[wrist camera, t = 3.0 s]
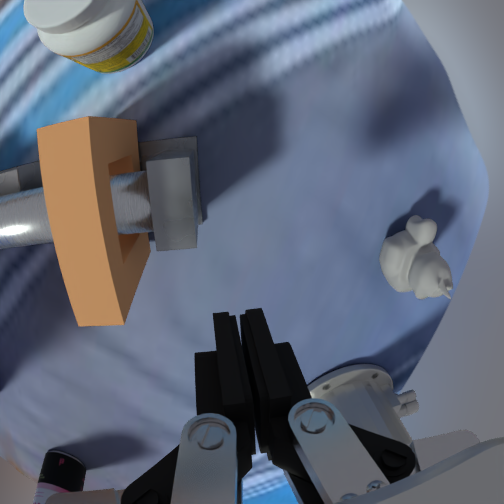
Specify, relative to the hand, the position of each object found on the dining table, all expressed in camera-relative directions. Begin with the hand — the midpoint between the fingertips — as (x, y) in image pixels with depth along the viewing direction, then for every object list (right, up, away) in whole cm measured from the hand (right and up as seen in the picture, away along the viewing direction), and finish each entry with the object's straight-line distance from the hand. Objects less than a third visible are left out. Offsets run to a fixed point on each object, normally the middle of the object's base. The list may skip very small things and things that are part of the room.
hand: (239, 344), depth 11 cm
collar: (-8, +8, +9) cm, 14 cm away
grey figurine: (+13, +4, +14) cm, 20 cm away
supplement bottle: (-9, +18, +5) cm, 20 cm away
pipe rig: (-13, +7, +9) cm, 18 cm away
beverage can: (-27, -27, +21) cm, 43 cm away
